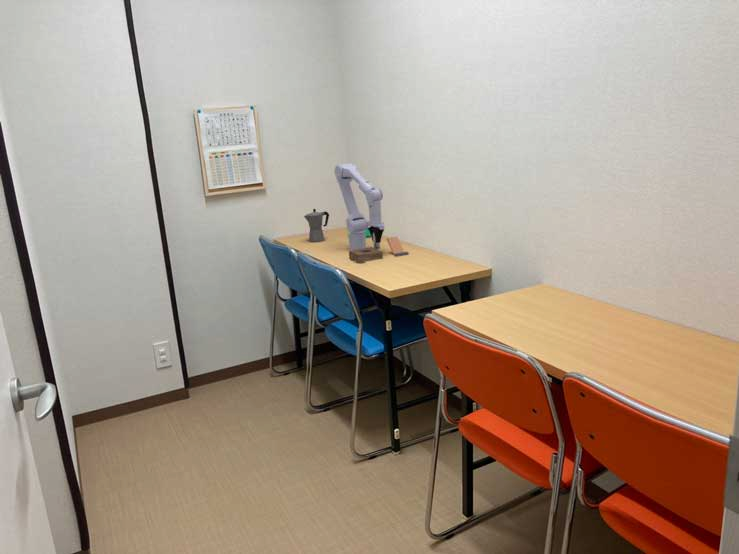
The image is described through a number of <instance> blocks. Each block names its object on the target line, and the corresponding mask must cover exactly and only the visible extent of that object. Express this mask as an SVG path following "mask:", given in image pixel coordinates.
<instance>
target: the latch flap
mask: <svg viewBox="0 0 739 554" xmlns="http://www.w3.org/2000/svg"><path fill="white" fill-rule="evenodd" d="M386 241H387V243H388V245H389V248H390V249H391V252H392V254H393V255H394V254H395V253H401V252H405V250H404V249H403V246H402V243H401V241H400V239H399V236H391V237H387V238H386Z"/></svg>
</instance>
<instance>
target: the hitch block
mask: <svg viewBox="0 0 739 554" xmlns="http://www.w3.org/2000/svg"><path fill="white" fill-rule="evenodd" d="M383 253H384V252H383V251H382V250H380V249H375V248H374V247H372V246H370V247H366V248H363V249H357V250H348V256H349V257H348V258H349V260H351V261H353V260H354V261H353V262H355V261H356V262H355V263H357V262H358V263H357V264H359V263H361V264H366V262H370V261H375V260H381V259H384V256H383V255H384V254H383Z"/></svg>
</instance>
